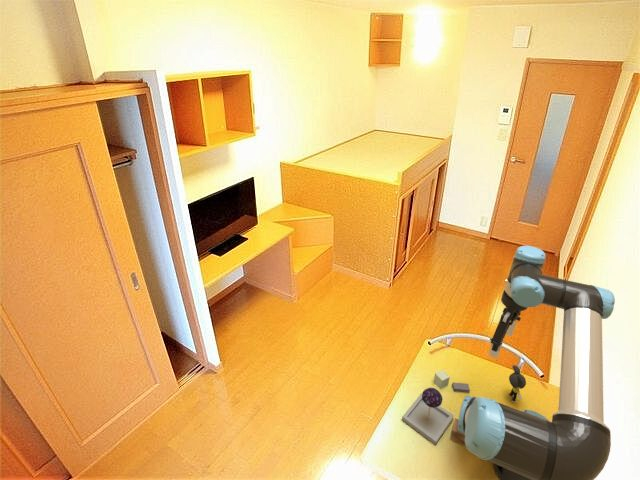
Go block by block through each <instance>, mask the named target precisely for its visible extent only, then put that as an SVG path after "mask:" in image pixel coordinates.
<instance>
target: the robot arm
mask: <svg viewBox="0 0 640 480" xmlns="http://www.w3.org/2000/svg"><path fill="white" fill-rule="evenodd" d="M545 261H546V253H545V252H544V251H543V249H540V248H539V247H535V246H532V245H521V246H519V247H517V249H516V251H515V254H514V255H513V260H512V263H511V267H510V270H509V273H508V276H507V279H505V280H504V283H505V286H504V290H503V292H502V295H501V298H500V299H501V303H502V304H503V306H505V307H504V308H503V310H502V313H501V316H500V317H499V318H500V319H499V321H498V324H497V326H496V329H495V330H494V331H495V332H494V334H493V336H492V338H489V341H490V344H491V345H490V348H489V350H488V354H487V355H488V356H490V357H492V358H494V359H496V360H498V358H499V355H500V352H501V348H502V346H503V341H504V339H505V336H507V335H508V336H510V337H512V336H513V335H514V331H515V328H516V326H517V322H518V321H519V322H520V321H521V318H522V317H520V316H521V314H522V313H521V312H524V311H526V310H527V309H528V308H536V307H538V306H540V305H544V306H545V305H546V306H551V307H554V308H557V309H561V310H563V321H562V324H563V325H562V339H561V340H562V342H561V343H562V344H561V360H560V361H561V362H560V375H559V376H560V378H559V396H558V411H557V412H554V413H552V416H551V417H552V419H551V421H550V420H549V419H548V418H547V417H545V416H544V415H543V414H541V413H539V412H537V411H535V410H530V409H525V410H520V409H517V408H514V407H511V406H508V405H505V404H503V403H500V402H497V401H496V400H494V399H493V398H488V397H487V398H486V397H483V396H477V397H476V396H471V395H465V397H464V398H463V401H462V404H461V407H460V411H459V417H458V430H459V432H461V433H463V434H464V435H465V445H464V446H465V447H466V449H467V451H468V452H469V453H471V454H473V455H475V456H476V457H477V458H479V459H480V460H483V461H487V462H490V463H492V466H493V469H494V472H495V473H496V476H497V478H498V479H499V480H595V479H596V478H597V477H598V476H599V474H601V473H602V471H603V469H604V468H605V467H606V464H607V462H608V459H609V456H610V453H611V447H612V446H611V444H612V442H611V439H612V438H611V437H612V436H611V429H610V428H609V427H608V425H607V424H605V422H604V421H605V420H604V418H605V417H604V369H603V368H604V367H603V365H604V364H603V361H604V360H603V359H604V357H603V320H605V319H608V318H610V316H612V313H613V311H614V308H615V306H614V305H615V300H616V299H615V295H614V293H613V292H612V291H611V290H610V289H607V288H606V289H605V288H602V287H600V286H596V285H592V284H585V283H582V282H577V281H572V280H567V279H564V278H558V277H555V276H554V277H553V276H549V275H545V274H543V267H544V265H545Z"/></svg>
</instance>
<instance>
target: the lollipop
mask: <svg viewBox="0 0 640 480" xmlns="http://www.w3.org/2000/svg"><path fill="white" fill-rule="evenodd" d="M421 394H422V399H423V401H424V403H425V404H426V405H427V406H429V409H428V414H427V419H428V418H429V414H430V409H431V407H432V408H435V407H438V406H441V405H442V403H443V395H442V394H441V392H440V391H439V390H438V389H437V388H435V387H427V388H426V389H424V390H423V391H422V393H421Z"/></svg>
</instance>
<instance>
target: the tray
mask: <svg viewBox="0 0 640 480" xmlns="http://www.w3.org/2000/svg"><path fill="white" fill-rule="evenodd" d="M428 409H429V406H427V405H426V404H425V403H424V401H423V399H422V393H420V394H419V395H418V397H417V398H416V399H415V400H414V401H413V402H412V404H411V405H410V407H409V408H408V409H407V410H406V411H405V413H403V415H402V416H401V421H402V422H403V423H405V424H406V425H408V426H409V427H410V428H412V430H414V431H416V432H417V433H418V434H419V435H421V436H422V437H423V438H425V439H426V440H428V442H430V443H432V444H433V445H434V446H436V445H437V443H438V442H439V440H440V439H441V438H442V436H443V435H444V433H445V431H447V429H448V427H449V426H450V424H451V423H452V422H453V420H454V419H455V418H454V417H455V415H454V414H453V413H451V412H450V411H448V410H446V409H445V408H444V407H442V406H441V405H440V406H438V407H435V408H432V407H431V409H430V414H429V418H428V419H427V414H428Z"/></svg>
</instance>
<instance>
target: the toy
mask: <svg viewBox="0 0 640 480" xmlns="http://www.w3.org/2000/svg"><path fill="white" fill-rule="evenodd" d="M512 369H513V372H512V373H511V374H509V376H508V379H509V380H508V381H509V384H510V385H511V386H512V388H511V391H510V393H508V397H512V398H511V403H517V398H518V399H519V400H520V401H523V397H522V394H521V392H520V390H522V389H524V388H525V386H526V385H527V381H526V377H525V376H524V375H523V374H522V373H521V370H520V368H519V367H518V365H512Z"/></svg>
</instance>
